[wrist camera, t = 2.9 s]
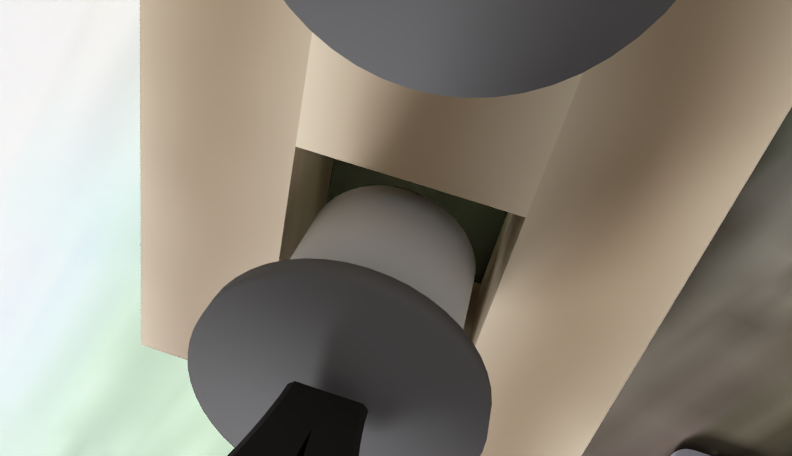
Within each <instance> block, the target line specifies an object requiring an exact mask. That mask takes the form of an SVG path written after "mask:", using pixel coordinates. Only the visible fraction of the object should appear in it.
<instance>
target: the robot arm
mask: <svg viewBox="0 0 792 456" xmlns="http://www.w3.org/2000/svg"><path fill="white" fill-rule="evenodd" d="M367 414H368V409H367V408H366V406H365V405H364V404H363V403H360V402H357V401H354V400H351V399H348V398H345V397H342V396H339V395H336V394H333V393H330V392H327V391H324V390H321V389H317V388H314V387H311V386H308V385H305V384H302V383H299V382H296V381H294V382H291V383H288V384H287V386H286V387H285V388H284V390H283V391H282V393H281V394H280V395H279V397H278V398H277V399H276V401H275V402H274V403H273V405H272V406H271V407H270V408H269V410H268V411H267V412H266V413H265V415H264V416H263V417H262V418H261V419H260V420H259V422H258V423H257V424H256V425H255V426H254V427H253V429H252V430H251V431H250V432H249V433H248V434H247V435H246V436H245V438H244V439H243V440H242V441H241V442H240V443H239V444H238V445H237V446H236V447H235V448H234V449H233V450H232V451H231V452H230V453H229V455H228V456H359V452H360V444H361V439H362V433H363V429H364V424H365V421H366V417H367ZM671 456H710V455H707V454H704V453H701V452H698V451H695V450H691V449H681V450H678V451H675V452H674V453H673V454H672V455H671Z"/></svg>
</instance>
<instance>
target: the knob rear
mask: <svg viewBox="0 0 792 456" xmlns="http://www.w3.org/2000/svg"><path fill="white" fill-rule="evenodd" d="M474 278H475V257H474V253H473V249H472V246H471V243H470V241H469V239H468V237H467V235H466V233H465V231H464V230H463V228H462V227H461V226H460V224H459V223H458V222H457V221H456V220H455V218H454V217H453V216H452V215H451V214H450V213H449V212H447V211H446V210H445V209H444V208H443V207H441V206H440V205H439V204H437V203H435V202H434V201H432V200H431V199H429V198H427V197H425V196H423V195H421V194H419V193H416V192H413V191H411V190H407V189H403V188H399V187H393V186H386V185H373V186H364V187H359V188H355V189H352V190H349V191H346V192H344V193H342V194H340V195H338V196H336V197H335V198H333V199H332V200H331V201H329V202H328V203H327V204H326V205H325V206H324V207H323V208H322V209H321V210H320V212H319V213H318V215H317V216H316V218H315V219H314V221H313V223H312V224H311V226H310V227H309V229H308V231H307V232H306V234H305V236H304V237H303V239H302V240H301V242H300V244H299V245H298V247H297V248H296V250H295V252H294V253H293V255H292V257H291V258H290V259H289V260H282V261H277V262H272V263H267V264H264V265H261V266H259V267H256V268H253V269H250V270H248V271H247V272H245V273H243V274H241V275H239V276H237V277H236V278H234V279H233V280H232V281H230V282H229V283H228V284H227V285H225V286H224V287H223V288H222V289H221V290H220V292H219V293H218V294H217V295H216V296H215V297H214V298H213V300H212V301H211V303H210V304H209V305H208V307H207V308H206V309H205V311H204V312H203V314H202V315H201V317H200V318H199V320H198V322H197V323H196V325H195V327H194V329H193V332H192V335H191V338H190V341H189V347H188V371H189V376H190V381H191V384H192V387H193V390H194V393H195V395H196V398H197V400H198V402H199V403H200V405H201V407H202V409H203V411H204V412H205V414H206V415H207V417H208V418H209V420H210V421H211V423H212V424H213V425H214V427H215V428H216V429H217V430H218V431H219V432H220V434H221V435H222V436H223V437H224V438H225V439H226V440H227V441H228V442H229V443H230V444H231V445H232V446H233V447H234V448H235V447H236V446H237V445H238V444H239V443H240V442H241V441H242V440H243V439H244V438H245V436H246V435H247V434H248V433H249V432H250V431H251V430H252V429H253V427H254V426H255V425H256V424H257V423H258V422H259V420H260V419H261V418H262V417H263V416H264V415H265V413H266V412H267V411H268V410H269V408H270V407H271V406H272V405H273V403H274V402H275V401H276V399H277V398H278V397H279V395H280V394H281V393H282V391H283V390H284V388H285V387H286V386H287V384H288V383H291V382H294V381H296V382H299V383H302V384H305V385H308V386H311V387H314V388H317V389H321V390H324V391H327V392H330V393H333V394H336V395H339V396H342V397H345V398H348V399H351V400H354V401H357V402H360V403H363V404H364V405H365V406H366V408H367V409H368V414H367V417H366V421H365V424H364V429H363V433H362V439H361V444H360V452H359V456H480V455H481V454H482V452H483V449H484V446H485V443H486V440H487V435H488V428H489V421H490V414H491V407H492V394H491V385H490V381H489V376H488V372H487V370H486V367H485V365H484V362H483V360H482V357H481V356H480V354H479V352H478V350H477V349H476V347H475V345H474V344H473V342H472V340H471V339H470V338H469V337H468V335H467V334H466V333H465V331H464V330H463V329H464V324H465V319H466V315H467V310H468V306H469V301H470V296H471V292H472V287H473V283H474Z"/></svg>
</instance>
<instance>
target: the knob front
mask: <svg viewBox="0 0 792 456" xmlns="http://www.w3.org/2000/svg"><path fill="white" fill-rule="evenodd" d="M284 1H285V3H286V4H287V5H288V7H289V8H290V9H291V10H292V11H293V12H294V13H295V15H296V16H297V17H298V18H299V19H300V20H301V21H302V22H303V23H304V24H305V25H306V26H307V27H308V29H309V30H310V31H312V32H313V33H314V34H315V35H316V36H317V37H319V38H320V39H321V40H322V41H323V42H324V43H326V44H327V45H328V46H329V47H330V48H331V49H333V50H334V51H336V52H337V53H339V54H340V55H342V56H343V57H345V58H346V59H347V60H349V61H350V62H352V63H353V64H355V65H356V66H358V67H360V68H362V69H364V70H366V71H368V72H370V73H372V74H374V75H376V76H378V77H380V78H382V79H384V80H387V81H390V82H392V83H395V84H398V85H401V86H403V87H406V88H409V89H413V90H417V91H422V92H426V93H430V94H435V95H442V96H451V97H461V98H488V97H500V96H507V95H514V94H521V93H526V92H529V91H533V90H537V89H540V88H544V87H548V86H551V85H554V84H557V83H559V82H562V81H564V80H567V79H569V78H572V77H574V76H576V75H579V74H581V73H583V72H585V71H587V70H589V69H591V68H592V67H594V66H596V65H598V64H600V63H601V62H603V61H605V60H607V59H609V58H610V57H612V56H613V55H615V54H616V53H617V52H619V51H620V50H622V49H623V48H624V47H626V46H627V45H629V44H630V43H631V42H633V41H634V40H635V39H637V38H638V37H639V36H640V35H642V34H643V33H644V32H645V31H646V30H647V29H648V28H649V27H650V26H651V25H653V24H654V23H655V22H656V21H657V20H658V19H659V18H660V17H661V16H662V15H663V14H665V13H666V11H667V10H668V9H669V8H670V7H671V6H672V4H673V3H674V2H675V1H676V0H284Z"/></svg>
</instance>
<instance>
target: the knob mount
mask: <svg viewBox="0 0 792 456" xmlns="http://www.w3.org/2000/svg"><path fill="white" fill-rule="evenodd" d="M791 107H792V0H676V1H675V2H674V3H673V4H672V6H671V7H670V8H669V9H668V10H667V11H666V13H665V14H663V15H662V16H661V17H660V18H659V19H658V20H657V21H656V22H655V23H654V24H653V25H651V26H650V27H649V28H648V29H647V30H646V31H645V32H644V33H643V34H642V35H640V36H639V37H638V38H637V39H635V40H634V41H633V42H631V43H630V44H629V45H627V46H626V47H624V48H623V49H622V50H620V51H619V52H617V53H616V54H615V55H613V56H612V57H610V58H609V59H607V60H605V61H603V62H601V63H600V64H598V65H596V66H594V67H592V68H591V69H589V70H587V71H585V72H583V73H581V74H579V75H576V76H574V77H572V78H569V79H567V80H564V81H562V82H559V83H557V84H554V85H551V86H548V87H544V88H540V89H537V90H533V91H529V92H526V93H521V94H514V95H507V96H500V97H488V98H461V97H451V96H442V95H435V94H430V93H426V92H422V91H417V90H413V89H409V88H406V87H403V86H401V85H398V84H395V83H392V82H390V81H387V80H384V79H382V78H380V77H378V76H376V75H374V74H372V73H370V72H368V71H366V70H364V69H362V68H360V67H358V66H356V65H355V64H353V63H352V62H350V61H349V60H347V59H346V58H345V57H343V56H342V55H340V54H339V53H337V52H336V51H334V50H333V49H331V48H330V47H329V46H328V45H327V44H326V43H324V42H323V41H322V40H321V39H320V38H319V37H317V36H316V35H315V34H314V33H313V32H312V31H310V30H309V29H308V27H307V26H306V25H305V24H304V23H303V22H302V21H301V20H300V19H299V18H298V17H297V16H296V15H295V13H294V12H293V11H292V10H291V9H290V8H289V7H288V5H287V4H286V3H285V1H284V0H140V142H141V345H144V346H147V347H150V348H153V349H156V350H159V351H162V352H165V353H168V354H171V355H174V356H177V357H180V358H183V359H186V360H188V347H189V341H190V338H191V335H192V332H193V329H194V327H195V325H196V323H197V322H198V320H199V318H200V317H201V315H202V314H203V312H204V311H205V309H206V308H207V307H208V305H209V304H210V303H211V301H212V300H213V298H214V297H215V296H216V295H217V294H218V293H219V292H220V290H221V289H222V288H223V287H224V286H225V285H227V284H228V283H229V282H230V281H232V280H233V279H234V278H236V277H237V276H239V275H241V274H243V273H245V272H247V271H248V270H250V269H253V268H256V267H259V266H261V265H264V264H267V263H272V262H277V261H282V260H289V259H290V258H291V257H292V255H293V253H294V252H295V250H296V248H297V247H298V245H299V244H300V242H301V240H302V239H303V237H304V236H305V234H306V232H307V231H308V229H309V227H310V226H311V224H312V223H313V221H314V219H315V218H316V216H317V215H318V213H319V212H320V210H321V209H322V208H323V207H324V206H325V205H326V199H327V194H328V188H329V183H330V178H331V172H332V167H333V162H334V159H338V160H341V161H344V162H347V163H351V164H354V165H357V166H360V167H364V168H367V169H370V170H373V171H377V172H380V173H383V174H386V175H390V176H393V177H396V178H399V179H402V180H406V181H409V182H412V183H415V184H419V185H422V186H425V187H428V188H432V189H435V190H438V191H441V192H445V193H448V194H451V195H454V196H458V197H461V198H464V199H467V200H471V201H474V202H477V203H480V204H483V205H487V206H490V207H493V208H496V209H500V210H503V211H506V212H508V213H507V215H506V218H505V221H504V223H503V226H502V229H501V231H500V234H499V237H498V239H497V242H496V245H495V247H494V250H493V253H492V255H491V258H490V261H489V263H488V266H487V269H486V271H485V274H484V277H483V279H482V282H481V284H479V283H476V282H474V283H473V287H472V292H471V296H470V301H469V306H468V310H467V315H466V319H465V324H464V329H463V330H464V331H465V333H466V334H467V335H468V337H469V338H470V339H471V340H472V342H473V344H474V345H475V347H476V349H477V350H478V352H479V354H480V356H481V357H482V360H483V362H484V365H485V367H486V370H487V372H488V376H489V381H490V385H491V394H492V407H491V414H490V421H489V428H488V435H487V440H486V443H485V446H484V449H483V452H482V454H481V455H480V456H581V455H582V454H583V452H584V450H585V449H586V447H587V445H588V444H589V442H590V440H591V439H592V437H593V435H594V434H595V432H596V431H597V429H598V427H599V426H600V424H601V422H602V421H603V419H604V417H605V416H606V414H607V412H608V411H609V409H610V407H611V406H612V404H613V402H614V401H615V399H616V397H617V396H618V394H619V392H620V391H621V389H622V387H623V386H624V384H625V382H626V381H627V379H628V377H629V376H630V374H631V372H632V371H633V369H634V367H635V366H636V364H637V362H638V361H639V359H640V358H641V356H642V354H643V353H644V351H645V349H646V348H647V346H648V344H649V343H650V341H651V339H652V338H653V336H654V334H655V333H656V331H657V329H658V328H659V326H660V324H661V323H662V321H663V319H664V318H665V316H666V314H667V313H668V311H669V309H670V308H671V306H672V304H673V303H674V301H675V299H676V298H677V296H678V294H679V293H680V291H681V289H682V288H683V286H684V285H685V283H686V281H687V280H688V278H689V276H690V275H691V273H692V271H693V270H694V268H695V266H696V265H697V263H698V261H699V260H700V258H701V256H702V255H703V253H704V251H705V250H706V248H707V246H708V245H709V243H710V241H711V240H712V238H713V236H714V235H715V233H716V231H717V230H718V228H719V226H720V225H721V223H722V221H723V220H724V218H725V216H726V215H727V213H728V212H729V210H730V208H731V207H732V205H733V203H734V202H735V200H736V198H737V197H738V195H739V193H740V192H741V190H742V188H743V187H744V185H745V183H746V182H747V180H748V178H749V177H750V175H751V173H752V172H753V170H754V168H755V167H756V165H757V163H758V162H759V160H760V158H761V157H762V155H763V153H764V152H765V150H766V148H767V147H768V145H769V144H770V142H771V140H772V139H773V137H774V135H775V134H776V132H777V130H778V129H779V127H780V125H781V124H782V122H783V120H784V119H785V117H786V115H787V114H788V112H789V110H790V109H791Z"/></svg>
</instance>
